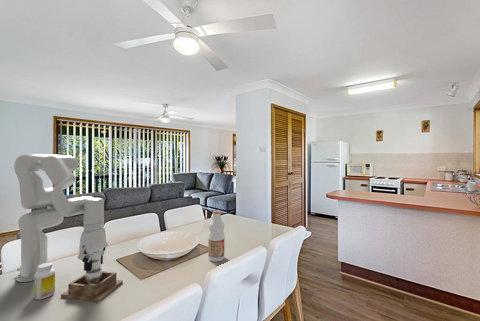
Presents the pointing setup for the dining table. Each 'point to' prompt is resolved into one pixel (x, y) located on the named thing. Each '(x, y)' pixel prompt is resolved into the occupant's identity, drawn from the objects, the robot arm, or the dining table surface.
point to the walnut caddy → (92, 288)
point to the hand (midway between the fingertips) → (93, 266)
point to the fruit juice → (216, 238)
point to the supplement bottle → (44, 281)
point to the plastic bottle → (95, 266)
